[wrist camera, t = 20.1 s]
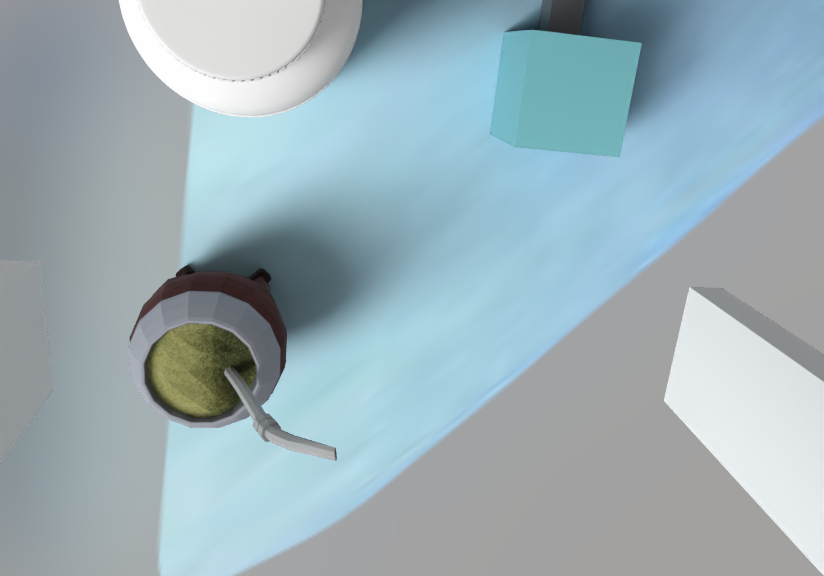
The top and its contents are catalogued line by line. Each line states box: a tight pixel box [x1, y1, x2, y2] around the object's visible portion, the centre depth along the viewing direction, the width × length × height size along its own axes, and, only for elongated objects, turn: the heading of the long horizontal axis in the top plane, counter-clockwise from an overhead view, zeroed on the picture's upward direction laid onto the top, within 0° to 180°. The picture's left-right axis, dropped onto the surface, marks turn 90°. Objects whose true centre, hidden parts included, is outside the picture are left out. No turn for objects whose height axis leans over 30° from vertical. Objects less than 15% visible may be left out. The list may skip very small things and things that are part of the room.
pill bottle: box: [119, 0, 363, 117], centre depth 26 cm, size 8×8×15 cm
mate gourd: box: [129, 266, 337, 461], centre depth 31 cm, size 8×8×15 cm
